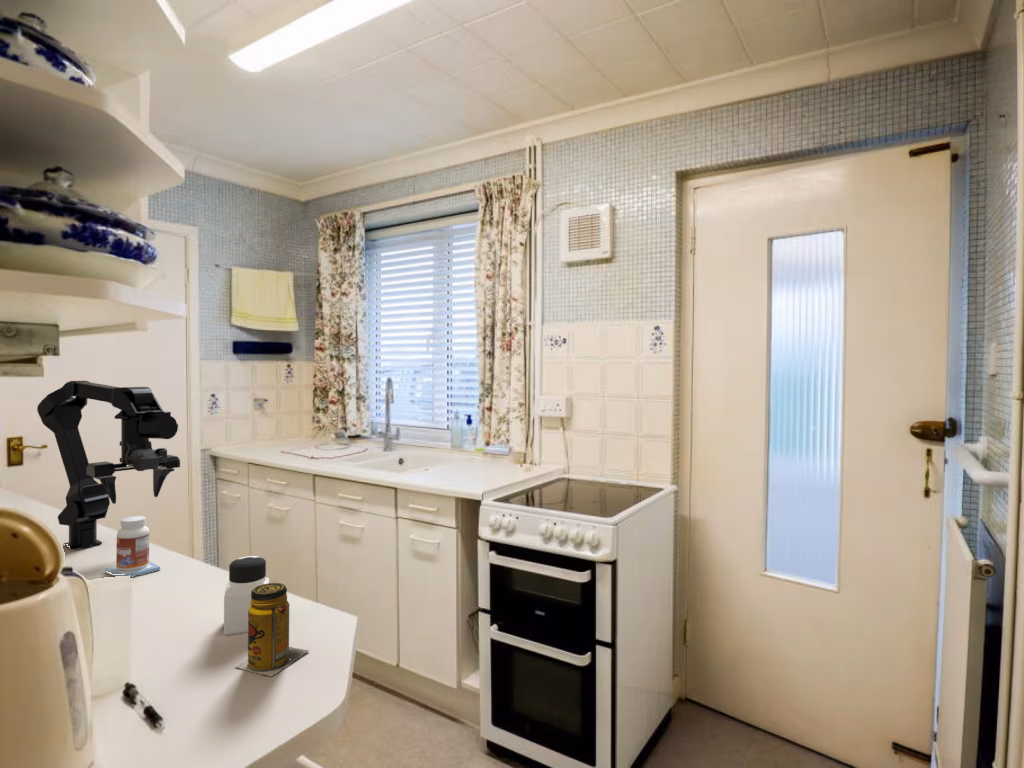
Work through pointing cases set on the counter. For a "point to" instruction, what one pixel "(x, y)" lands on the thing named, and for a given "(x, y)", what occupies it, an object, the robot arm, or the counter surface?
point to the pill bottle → (132, 544)
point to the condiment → (269, 631)
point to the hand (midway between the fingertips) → (135, 500)
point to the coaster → (149, 568)
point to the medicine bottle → (242, 592)
